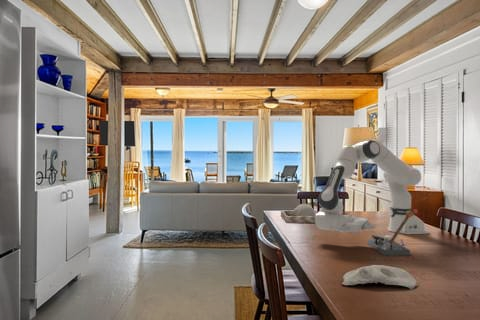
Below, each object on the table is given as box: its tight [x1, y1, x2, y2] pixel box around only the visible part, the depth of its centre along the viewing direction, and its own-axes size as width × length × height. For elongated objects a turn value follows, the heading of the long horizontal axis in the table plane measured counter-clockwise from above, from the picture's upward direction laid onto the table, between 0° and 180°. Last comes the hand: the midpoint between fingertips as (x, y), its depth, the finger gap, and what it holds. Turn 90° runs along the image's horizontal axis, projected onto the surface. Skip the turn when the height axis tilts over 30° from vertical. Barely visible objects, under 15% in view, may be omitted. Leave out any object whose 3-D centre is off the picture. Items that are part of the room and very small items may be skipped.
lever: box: [389, 211, 413, 246], centre depth 169 cm, size 3×4×20 cm
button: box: [384, 235, 393, 242], centre depth 182 cm, size 3×3×2 cm
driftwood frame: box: [280, 210, 317, 224], centre depth 253 cm, size 24×24×4 cm
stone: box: [341, 264, 419, 290], centre depth 132 cm, size 28×7×15 cm
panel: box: [367, 238, 411, 256], centre depth 176 cm, size 12×20×5 cm, turn 1°
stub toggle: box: [400, 239, 407, 249], centre depth 168 cm, size 1×2×4 cm, turn 148°
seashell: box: [292, 203, 316, 216], centre depth 254 cm, size 15×14×15 cm
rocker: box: [371, 234, 385, 241], centre depth 182 cm, size 5×3×1 cm, turn 91°
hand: (374, 226), depth 176 cm, fingers closed
